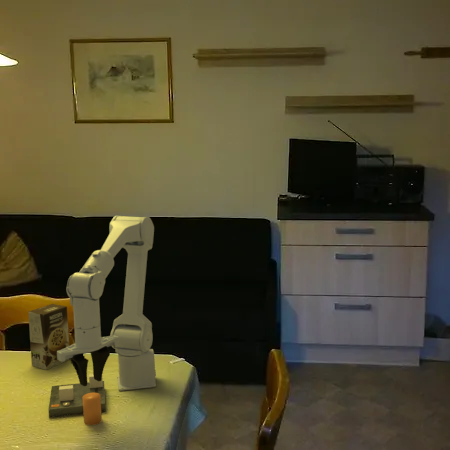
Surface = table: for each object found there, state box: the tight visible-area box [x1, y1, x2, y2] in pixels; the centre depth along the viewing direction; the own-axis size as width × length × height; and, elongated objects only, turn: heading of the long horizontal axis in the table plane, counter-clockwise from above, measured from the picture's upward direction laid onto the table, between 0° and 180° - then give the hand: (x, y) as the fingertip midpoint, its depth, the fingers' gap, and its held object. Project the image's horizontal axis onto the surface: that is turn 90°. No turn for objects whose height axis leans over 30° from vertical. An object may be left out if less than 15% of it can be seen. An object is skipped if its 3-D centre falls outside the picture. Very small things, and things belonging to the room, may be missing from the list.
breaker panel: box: [47, 380, 107, 419], centre depth 150 cm, size 13×13×2 cm
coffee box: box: [28, 303, 70, 371], centre depth 173 cm, size 9×6×16 cm
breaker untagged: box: [88, 373, 104, 388], centre depth 154 cm, size 3×2×3 cm, turn 102°
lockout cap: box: [82, 393, 103, 426], centre depth 140 cm, size 4×4×6 cm
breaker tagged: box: [58, 385, 74, 401], centre depth 147 cm, size 3×2×3 cm, turn 102°
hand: (90, 382), depth 139 cm, fingers open, 3 cm apart
